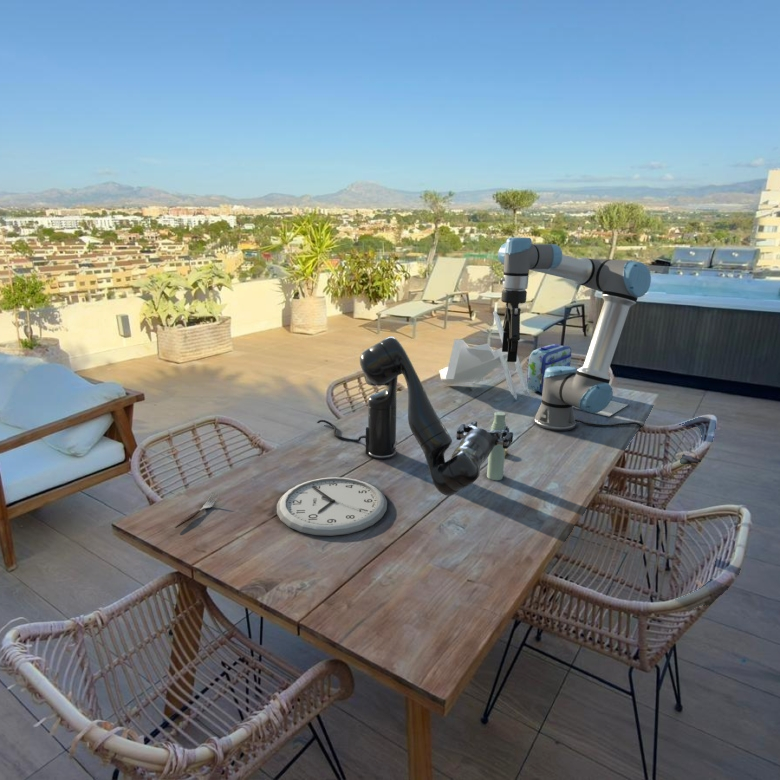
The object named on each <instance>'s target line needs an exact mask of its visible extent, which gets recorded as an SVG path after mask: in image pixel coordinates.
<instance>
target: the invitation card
mask: <svg viewBox="0 0 780 780" xmlns="http://www.w3.org/2000/svg"><path fill="white" fill-rule="evenodd" d="M628 406H629V404H627V403H623V402H618V401H614V400H611V401H610V403H609V404H608V405H607V407H606V408H605V409H603V410H602V411H600V412H597V413H595V414H596V415H600V416H604V417H608V418H609V417H611V416H613V415H614V414H616V413H617V412H619V411H621V410H623V409H624V408H626V407H628ZM573 409H575V410H581V409H579V408H576V407H574V406H573ZM581 411H582V410H581Z"/></svg>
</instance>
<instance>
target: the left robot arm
mask: <svg viewBox="0 0 780 780" xmlns="http://www.w3.org/2000/svg"><path fill="white" fill-rule="evenodd" d="M359 364H360V369H361V370H362V372H363V377H364V381H365V383H366V384H367V385H368V386H370V387H371V386H373V387H385V388H384V389H382V390H381V391H378V392H374V393H373V394H370V396H369V397H368V399H367V402H368V403H367V404H368V405H367V407H368V408H367V426H366V427H365V435H360V436H359V437H358V438H356V439H355V438H348V437H344V436H341V435H339V434H337V430H338V429H337V426H336V425H334V424H333V423H332V422H329V420H328V421H327V420H326V419H319V420H318V421H316V424H320V423H324V424H327V425H329V426H330V427H331V428H333V436H334V437H336V438H337V439H340V440H343V441H347V442H355V443H357V442H360V441H361V440H362V439H365V455H366V456H369V457H371V458H372V459H378V460H387V459H391V458H393V457H395V456H396V454H397V452H396V451H397V449H396V448H397V447H396V446H397V445H398V440H397V393H398V377H399V376H401V375H403V377H404V380H405V382H406V387H407V419H408V420H407V421H408V426H409V429H410V431H411V433H412V435H413V436H414V438H415V440H416V441H417V443H418V445H419V446H420V448H421V450H422V451H423V454H424V457H425V461H426V464H427V467H428V470H429V474H430V477H431V478H430V479H431V481H432V483H433V485H434V487H435V489H436V490H437V491H438V492H439V493H440V494H442V495H444V496H447V497H450V496H454V495H455V494H457V493H459V492H461V491H462V490H464V489H465V488H467V487H468V486H470V485H471V484H473V483H474V482H476V481H477V479H479V477H480V475H481V466H482V465H483V463H485V462H486V460H488V456H489V454H490V453H491V451H492V450H493V448H494V446H496V445H497V444H500V445H502V446H503V448H505V449H508V448H509V447H510V446H511V445H512V443H513V439H514V432H513V431H510V428H509V427H508V425H506V426H505V427H504V428H503V430H502V431H499V430H494V431H491V430H486V429H484V428H479V427H478V421H477V420H474V421H473V422H470V423H469V424H467V425H466V424H465V423H461V424H460V425H459V426H458V428H457V430H456V439H455V440H457V441H460V442H459V444H458V446H457V447H456V448H455V450H454V451H453V452H452V454H451V457H450V459H449V460H447V461H446V460H445V454H446V452H447V450H448V449H449V448H450V447H451V445H452V444H453V439H452V437H451V435H450V433H449V432H448V430H447V429H446V427H445V425H444V424H443V422H442V420H441V419H440V417H439V416H438V414H437V412H436V411H435V409H434V406H433V405H432V403H431V400H430V399H429V397H428V395H427V392H426V390H425V388H424V386H423V383H422V381H421V379H420V377H419V375H418V373H417V372H416V368H415V367H414V366H413V365H414V364H413V363H412V361H411V359H410V357H409V355H408V354H407V352H406V350H405V348H404V347H403V345H402V344H401V343H400V341H398V339H397V338H396V337H394V336H388V337H386V338H384V339H382V340H381V341H378V342H377V343H376V344H374V345H372V346H370V347H369V348H367V349H366V350H364V351H363V352H361V354H360V356H359ZM494 434H496V435H494ZM501 434H502V437H501Z"/></svg>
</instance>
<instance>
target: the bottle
mask: <svg viewBox="0 0 780 780" xmlns="http://www.w3.org/2000/svg"><path fill="white" fill-rule="evenodd" d="M506 416H507V415H506V412H504V411H495V412H494V419H493V420H492V424H491V426H490V431H494V430H499V431H502V430H503V428H504V427H505V426H507V424H506ZM494 435H496V434H494ZM501 437H502V434H501ZM505 457H506V455H505V448H503V446H502V445H500V444H497V445H496V446H494V448H493V450H492V451H491V453H490V454H489V456H488V457H487V470H486V477H487V478H488V479H489V480H491V481H501V480H503V477H504V467H505Z"/></svg>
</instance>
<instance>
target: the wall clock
mask: <svg viewBox="0 0 780 780" xmlns="http://www.w3.org/2000/svg"><path fill="white" fill-rule="evenodd" d="M387 509H388V500H387V498H386V496H385V494H384V493H383V492H382V491H381V490H380V489H379V488H377V487H376V486H374V485H372V484H371V483H369V482H365V481H362V480H359V479H355V478H349V477H338V476H337V477H335V476H333V477H332V476H331V477H322V478H317V479H312V480H307V481H305V482H302V483H299V484H297V485H295V486H293V487H292V488H290V489H288V490H287V491H286V492H285V493H284V494H283V495H281V496H280V498H279V499H278V502H277V503H276V515H277V517H278V518H279V520H280V521H281V522H282V523H283V524H285V525H286V526H287V527H288V528H290V529H293V530H295V531H297V532H299V533H303V534H308V535H312V536H327V537H328V536H329V537H331V536H332V537H333V536H342V535H350V534H352V533H356V532H361V531H363V530H366V529H368V528H369V527H372V526H373V525H375V524H376V523H378V522H379V521H380V520H381V519H382V518H383V517H384V516H385V514H386V512H387Z"/></svg>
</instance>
